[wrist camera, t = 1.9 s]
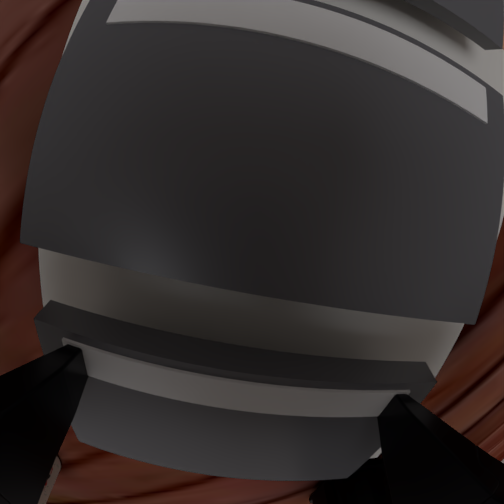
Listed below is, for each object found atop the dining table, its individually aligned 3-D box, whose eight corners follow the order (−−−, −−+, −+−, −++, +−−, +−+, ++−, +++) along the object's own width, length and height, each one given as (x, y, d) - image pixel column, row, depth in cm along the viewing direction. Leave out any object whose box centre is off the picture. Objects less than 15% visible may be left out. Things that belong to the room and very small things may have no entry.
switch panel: (484, -22, 6) (517, -38, 3) (368, 434, 15) (383, 475, 12) (176, -112, 5) (165, -147, 2) (81, 393, 14) (58, 434, 10)
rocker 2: (425, 361, 8) (438, 384, 7) (344, 461, 11) (347, 479, 10) (50, 299, 7) (31, 320, 6) (85, 424, 10) (78, 442, 9)
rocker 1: (483, 102, 7) (504, 94, 5) (455, 313, 7) (476, 325, 6) (108, 5, 6) (96, -15, 4) (42, 237, 6) (17, 243, 5)
